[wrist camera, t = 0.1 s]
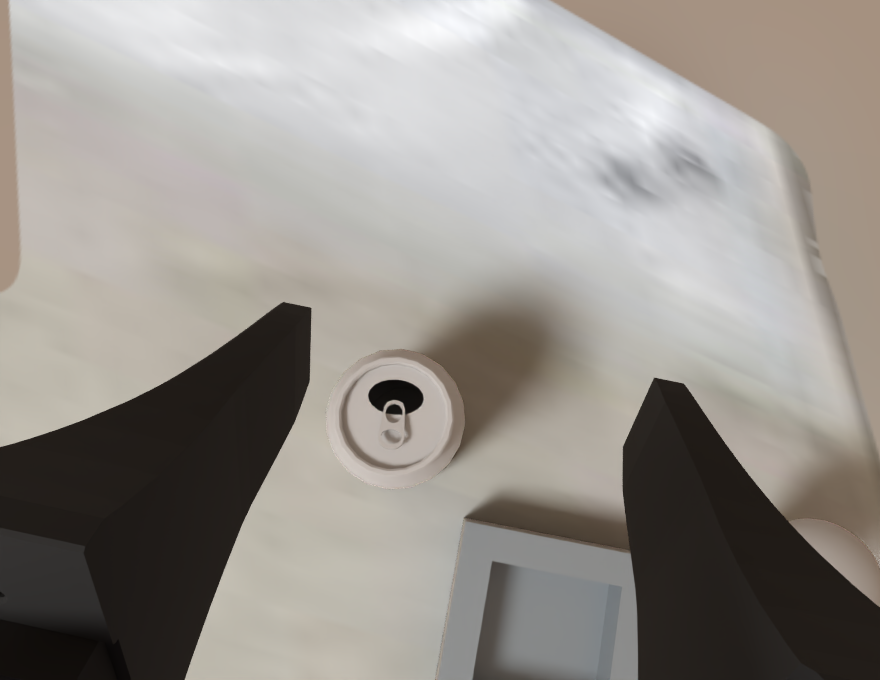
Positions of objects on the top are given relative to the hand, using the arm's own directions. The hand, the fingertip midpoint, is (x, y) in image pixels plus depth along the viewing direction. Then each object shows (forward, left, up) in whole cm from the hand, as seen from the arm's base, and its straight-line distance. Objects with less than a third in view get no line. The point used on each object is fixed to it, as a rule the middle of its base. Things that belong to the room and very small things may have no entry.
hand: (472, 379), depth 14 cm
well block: (-11, -8, -32) cm, 35 cm away
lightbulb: (-4, -21, -32) cm, 38 cm away
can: (0, +3, -32) cm, 32 cm away
